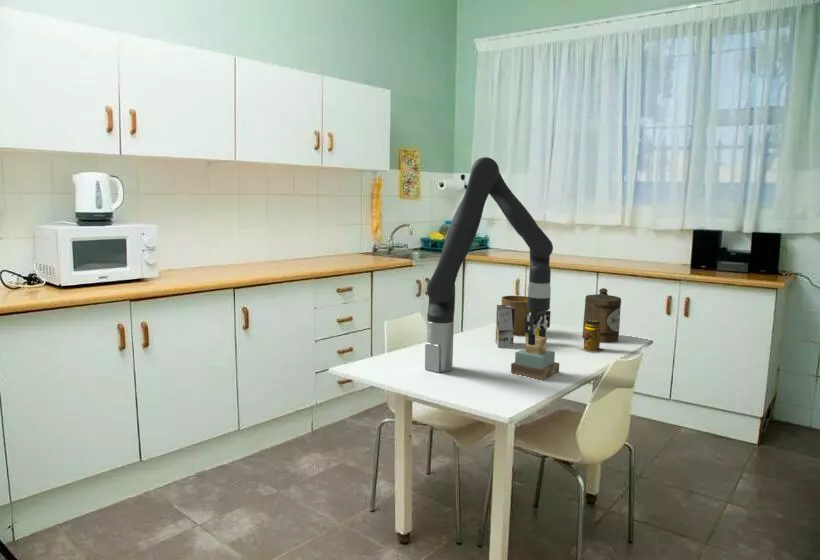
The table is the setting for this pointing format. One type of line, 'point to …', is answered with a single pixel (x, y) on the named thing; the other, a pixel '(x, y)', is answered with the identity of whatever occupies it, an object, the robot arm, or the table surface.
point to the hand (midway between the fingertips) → (536, 342)
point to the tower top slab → (534, 359)
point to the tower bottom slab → (535, 371)
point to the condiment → (592, 336)
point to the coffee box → (505, 326)
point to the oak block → (537, 345)
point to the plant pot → (518, 311)
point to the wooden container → (604, 314)
